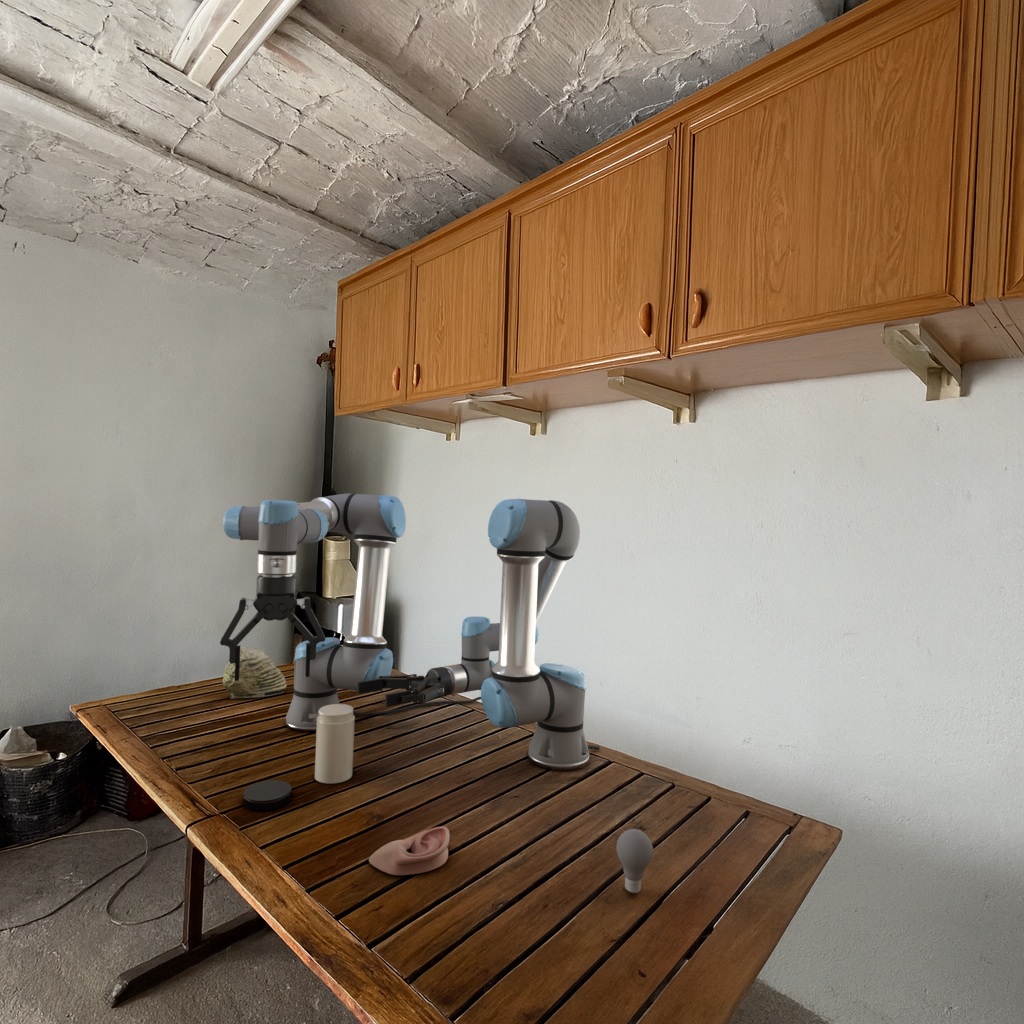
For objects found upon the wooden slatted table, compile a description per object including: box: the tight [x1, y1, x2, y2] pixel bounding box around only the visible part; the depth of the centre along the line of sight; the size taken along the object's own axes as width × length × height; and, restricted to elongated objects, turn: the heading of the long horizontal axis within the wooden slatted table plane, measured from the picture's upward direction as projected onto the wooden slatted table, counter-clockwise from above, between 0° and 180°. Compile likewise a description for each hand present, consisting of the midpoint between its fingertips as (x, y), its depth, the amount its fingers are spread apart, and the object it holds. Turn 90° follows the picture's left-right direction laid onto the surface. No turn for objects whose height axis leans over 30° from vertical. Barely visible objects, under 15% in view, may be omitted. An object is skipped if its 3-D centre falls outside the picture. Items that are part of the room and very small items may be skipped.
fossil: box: [222, 646, 288, 699], centre depth 198 cm, size 9×18×15 cm, turn 132°
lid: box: [242, 779, 293, 812], centre depth 131 cm, size 9×9×2 cm
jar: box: [313, 703, 356, 785], centre depth 144 cm, size 8×8×15 cm
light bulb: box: [615, 828, 654, 894], centre depth 106 cm, size 6×6×10 cm
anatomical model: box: [368, 826, 451, 876], centre depth 112 cm, size 13×4×12 cm
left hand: (272, 677), depth 131 cm, fingers open, 13 cm apart
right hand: (371, 694), depth 150 cm, fingers open, 13 cm apart
